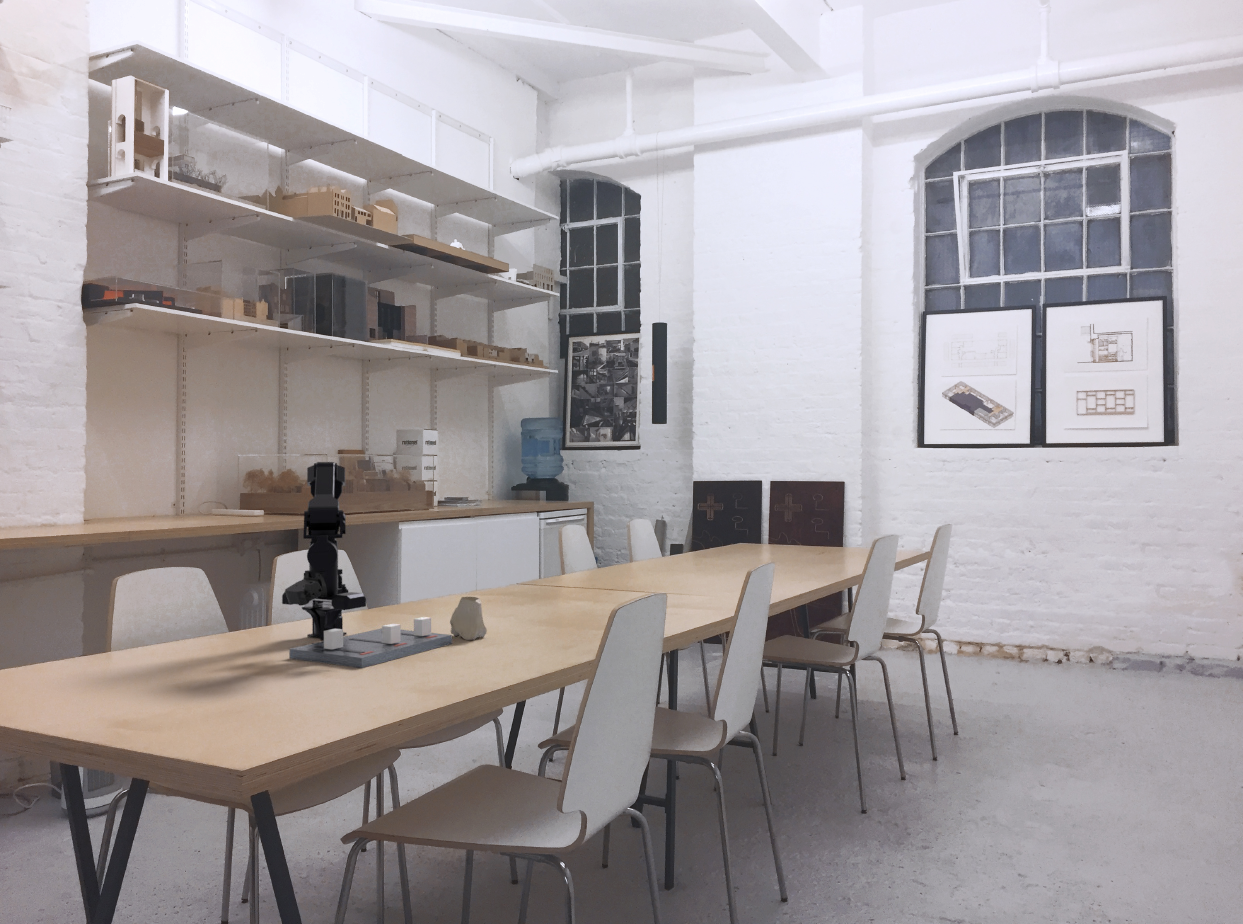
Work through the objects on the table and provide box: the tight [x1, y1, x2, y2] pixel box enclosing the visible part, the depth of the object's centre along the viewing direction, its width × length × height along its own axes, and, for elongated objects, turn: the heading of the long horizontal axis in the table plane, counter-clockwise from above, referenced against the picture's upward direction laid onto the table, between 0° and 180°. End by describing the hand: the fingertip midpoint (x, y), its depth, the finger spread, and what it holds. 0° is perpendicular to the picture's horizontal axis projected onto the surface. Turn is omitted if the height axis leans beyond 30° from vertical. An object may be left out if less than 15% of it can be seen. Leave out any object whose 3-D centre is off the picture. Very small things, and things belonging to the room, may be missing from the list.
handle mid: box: [381, 623, 402, 644], centre depth 197 cm, size 2×3×4 cm
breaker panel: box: [288, 627, 453, 669], centre depth 199 cm, size 20×28×2 cm
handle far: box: [413, 616, 432, 636], centre depth 206 cm, size 2×3×4 cm
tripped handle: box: [324, 629, 344, 649], centre depth 191 cm, size 2×3×4 cm
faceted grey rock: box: [449, 596, 488, 641], centre depth 215 cm, size 9×8×10 cm
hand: (323, 640), depth 192 cm, fingers closed
